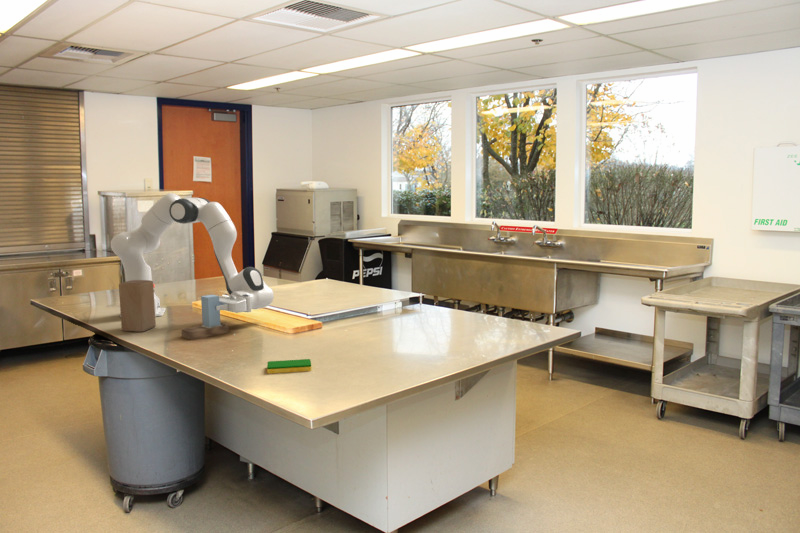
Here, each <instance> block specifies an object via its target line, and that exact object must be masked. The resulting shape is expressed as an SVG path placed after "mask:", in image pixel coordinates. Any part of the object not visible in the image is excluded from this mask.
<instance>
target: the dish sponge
mask: <svg viewBox="0 0 800 533" xmlns="http://www.w3.org/2000/svg"><path fill="white" fill-rule="evenodd" d="M266 368H267V369H266V370H267V374H281V373H282V374H283V373H297V372H310V371H312V362H311V359H310V358H304V359H289V360H286V359H285V360H270V361H267V367H266Z"/></svg>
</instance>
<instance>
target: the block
mask: <svg viewBox="0 0 800 533" xmlns="http://www.w3.org/2000/svg"><path fill="white" fill-rule="evenodd" d="M153 284H154V282H153V280H152V281H151V280H131V281H127V282H126V281H124V282H120V283H119V284H118V295H119V308H120V314H121V317H120V322H121V330H122V332H130V331H134V332H133V333H135V332H136V333H137V332H138V333H144V332H145V331H148V330H151V329H153V328H155V327H156V326H157V324H156V321H157V320H156V317H155V305H154V293H155V288H154V289H153Z"/></svg>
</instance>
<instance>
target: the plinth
mask: <svg viewBox="0 0 800 533" xmlns="http://www.w3.org/2000/svg"><path fill="white" fill-rule="evenodd" d="M220 324H221V325H220V326H215V327H210V328H209V327H205V326H203V324H201V325H197V326H191V327H186V328H182V329H180V330H181V337H182V338H185V339H188V340H191V341H194V340H199V339H204V338H209V337H213V336H216V335H222V334H227V333H229V325H228V324H227V323H226V324H225V323H221V322H220Z"/></svg>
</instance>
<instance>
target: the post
mask: <svg viewBox="0 0 800 533" xmlns="http://www.w3.org/2000/svg"><path fill="white" fill-rule="evenodd" d="M219 296H220V295H216V294H207V295H201V296H200V301H201V302H200V303H201V318H202V320H201V321H202V325H203V326H205V327H209V328H210V327H215V326H220V325H221V324H220V323H221V310H219V311H217V310H215V306H217V305H220V304H219Z"/></svg>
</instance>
